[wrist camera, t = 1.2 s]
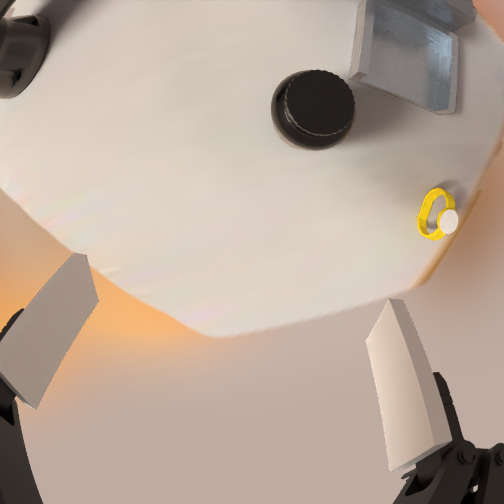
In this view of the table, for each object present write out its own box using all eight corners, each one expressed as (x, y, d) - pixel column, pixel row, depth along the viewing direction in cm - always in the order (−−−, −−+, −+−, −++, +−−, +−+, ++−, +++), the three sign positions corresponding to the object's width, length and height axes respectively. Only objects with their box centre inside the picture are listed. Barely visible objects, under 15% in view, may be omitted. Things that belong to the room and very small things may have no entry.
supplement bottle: (320, 82, 25) (347, 46, 14) (344, 138, 27) (386, 134, 16) (261, 102, 27) (253, 74, 16) (286, 159, 29) (295, 166, 18)
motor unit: (348, 79, 25) (384, 49, 15) (361, -41, 17) (384, -85, 7) (449, 120, 25) (507, 119, 15) (451, 0, 17) (491, -25, 7)
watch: (424, 232, 31) (446, 252, 25) (407, 225, 30) (428, 244, 25) (441, 189, 28) (467, 202, 23) (425, 180, 28) (450, 193, 22)
